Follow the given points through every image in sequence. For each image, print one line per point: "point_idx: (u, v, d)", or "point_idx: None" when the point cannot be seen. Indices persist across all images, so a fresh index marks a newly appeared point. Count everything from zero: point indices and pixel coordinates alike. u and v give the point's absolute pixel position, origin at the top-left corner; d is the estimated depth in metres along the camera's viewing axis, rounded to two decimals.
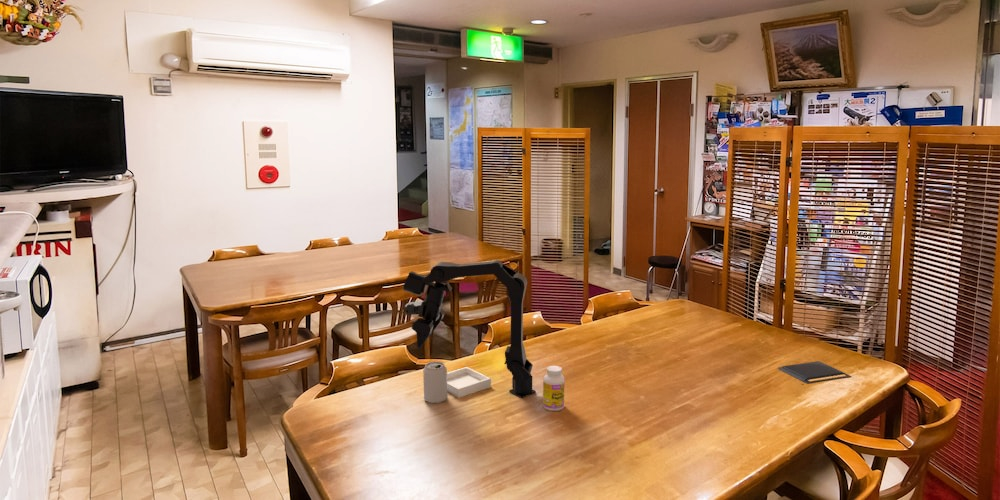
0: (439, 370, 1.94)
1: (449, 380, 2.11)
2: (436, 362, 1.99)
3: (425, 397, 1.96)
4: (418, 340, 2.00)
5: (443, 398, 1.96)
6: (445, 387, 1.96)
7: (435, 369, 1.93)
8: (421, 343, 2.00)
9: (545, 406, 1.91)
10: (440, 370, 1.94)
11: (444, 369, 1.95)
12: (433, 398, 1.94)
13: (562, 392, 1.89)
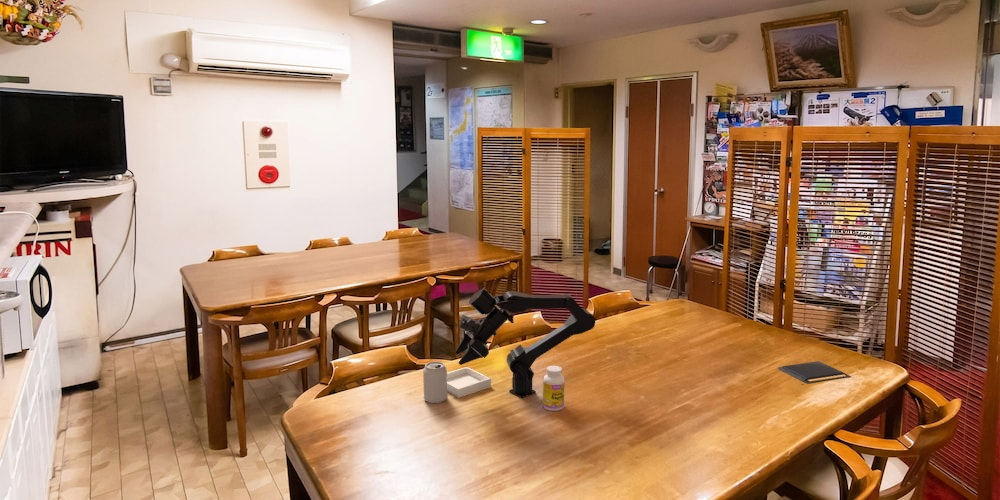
0: (439, 370, 1.94)
1: (449, 380, 2.11)
2: (436, 362, 1.99)
3: (425, 397, 1.96)
4: (464, 357, 1.92)
5: (443, 398, 1.96)
6: (445, 387, 1.96)
7: (435, 369, 1.93)
8: (465, 361, 1.92)
9: (545, 406, 1.91)
10: (440, 370, 1.94)
11: (444, 369, 1.95)
12: (433, 398, 1.94)
13: (562, 392, 1.89)
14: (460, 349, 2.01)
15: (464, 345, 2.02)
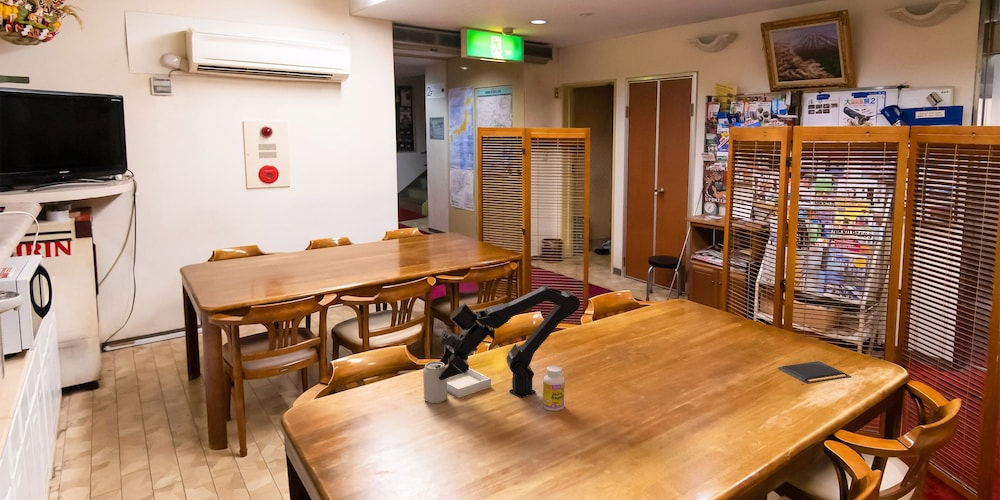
0: (439, 370, 1.94)
1: (449, 380, 2.11)
2: (436, 362, 1.99)
3: (425, 397, 1.96)
4: (444, 373, 1.92)
5: (443, 398, 1.96)
6: (445, 387, 1.96)
7: (435, 369, 1.93)
8: (445, 377, 1.92)
9: (545, 406, 1.91)
10: (440, 370, 1.94)
11: (444, 369, 1.95)
12: (433, 398, 1.94)
13: (562, 392, 1.89)
14: None
15: (445, 360, 2.01)
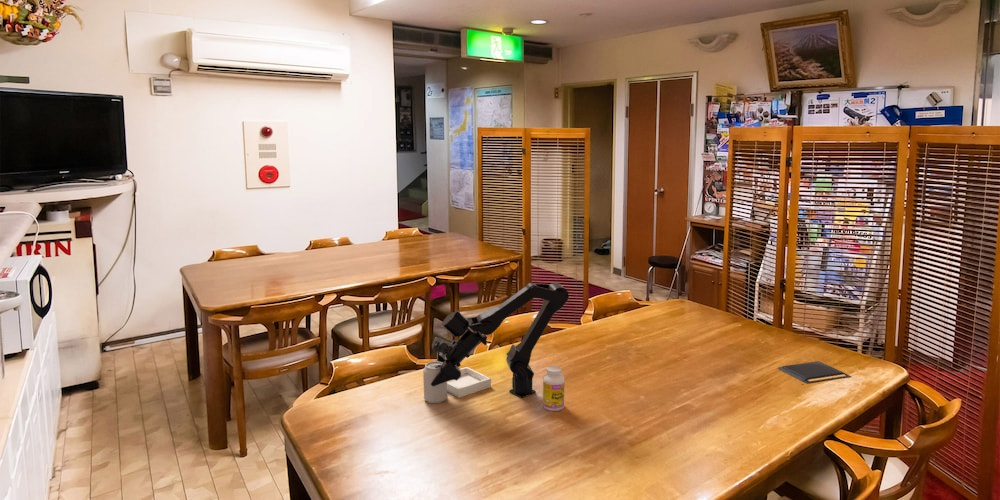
0: (439, 370, 1.94)
1: None
2: (436, 362, 1.99)
3: (425, 397, 1.96)
4: (436, 379, 1.92)
5: (443, 398, 1.96)
6: (445, 387, 1.96)
7: (435, 369, 1.93)
8: (437, 383, 1.93)
9: (545, 406, 1.91)
10: None
11: None
12: (433, 398, 1.94)
13: (562, 392, 1.89)
14: None
15: None
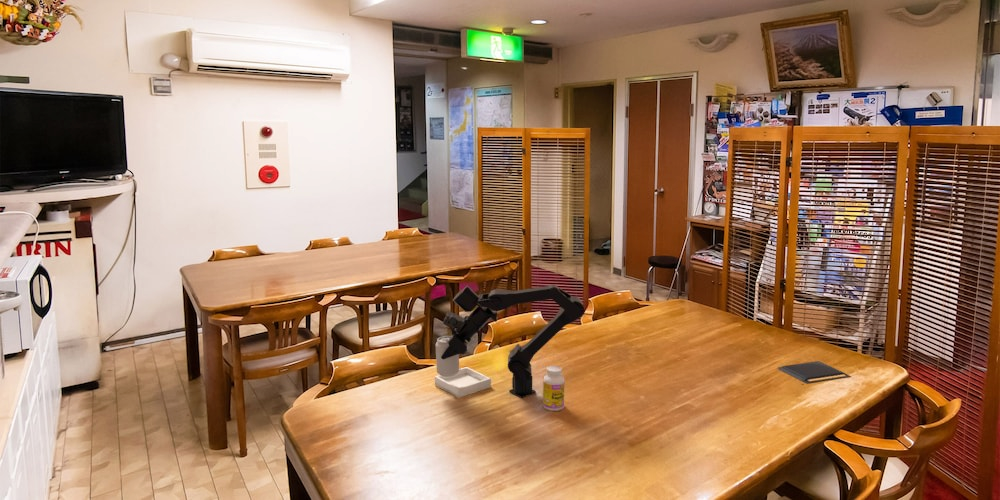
0: None
1: (449, 380, 2.11)
2: (449, 337, 2.03)
3: (437, 370, 2.01)
4: (446, 352, 1.96)
5: (454, 372, 1.99)
6: (456, 361, 2.00)
7: (445, 343, 1.98)
8: (447, 356, 1.97)
9: (545, 406, 1.91)
10: None
11: None
12: (443, 371, 1.99)
13: (562, 392, 1.89)
14: None
15: None
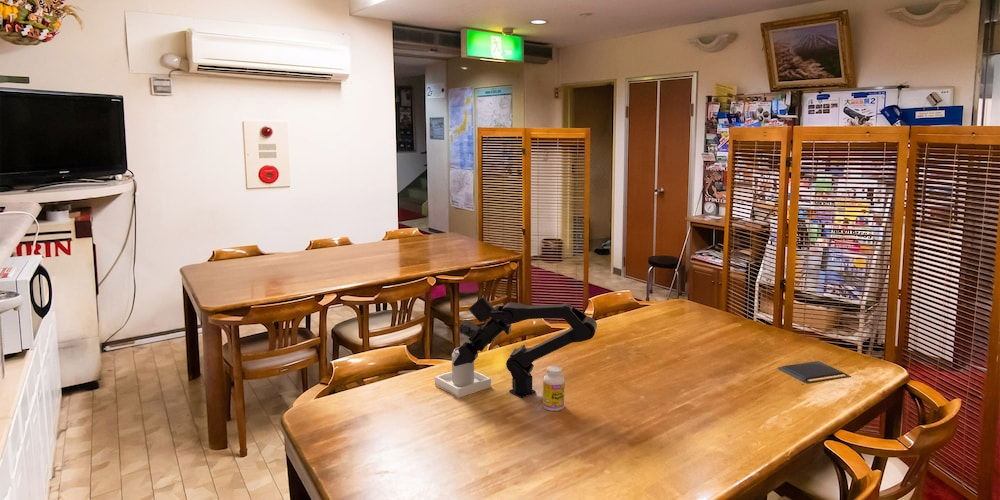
0: None
1: (449, 380, 2.11)
2: None
3: (452, 379, 2.08)
4: (457, 360, 2.01)
5: (466, 383, 2.05)
6: (469, 373, 2.05)
7: None
8: (458, 364, 2.02)
9: (545, 406, 1.91)
10: None
11: None
12: (456, 380, 2.05)
13: (562, 392, 1.89)
14: None
15: None
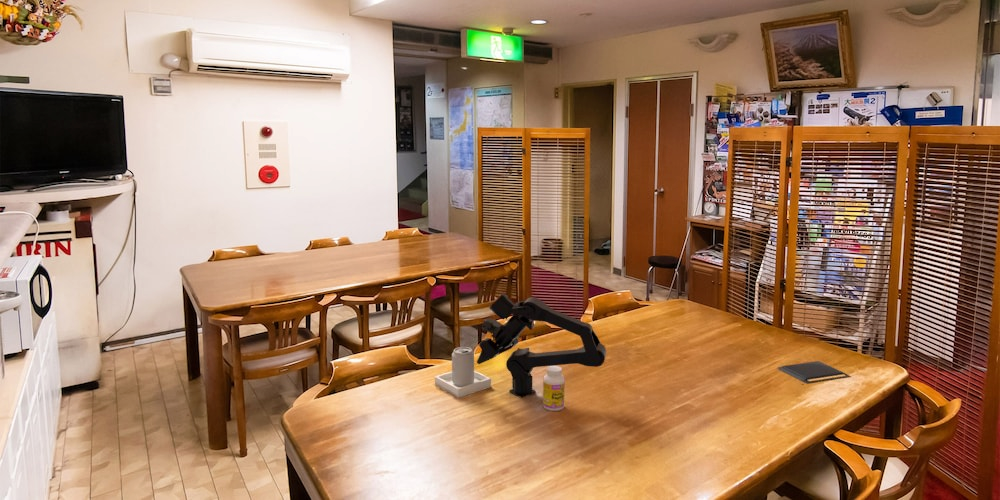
0: (463, 355, 2.03)
1: (449, 380, 2.11)
2: (467, 348, 2.09)
3: (452, 379, 2.08)
4: (480, 357, 2.00)
5: (466, 383, 2.05)
6: (469, 373, 2.05)
7: (459, 354, 2.04)
8: (481, 361, 2.00)
9: (545, 406, 1.91)
10: (464, 355, 2.03)
11: (469, 355, 2.04)
12: (456, 380, 2.05)
13: (562, 392, 1.89)
14: None
15: None
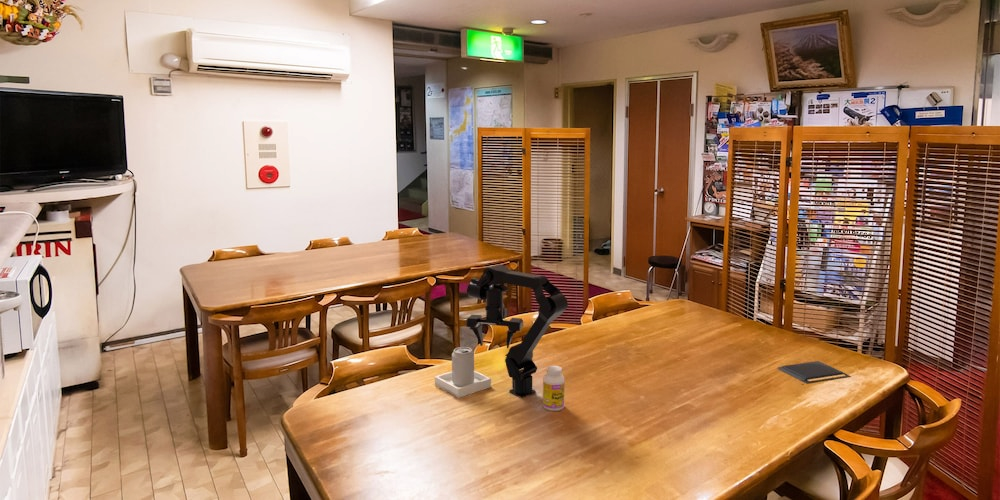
0: (463, 355, 2.03)
1: (449, 380, 2.11)
2: (467, 348, 2.09)
3: (452, 379, 2.08)
4: None
5: (466, 383, 2.05)
6: (469, 373, 2.05)
7: (459, 354, 2.04)
8: None
9: (545, 406, 1.91)
10: (464, 355, 2.03)
11: (469, 355, 2.04)
12: (456, 380, 2.05)
13: (562, 392, 1.89)
14: None
15: None
